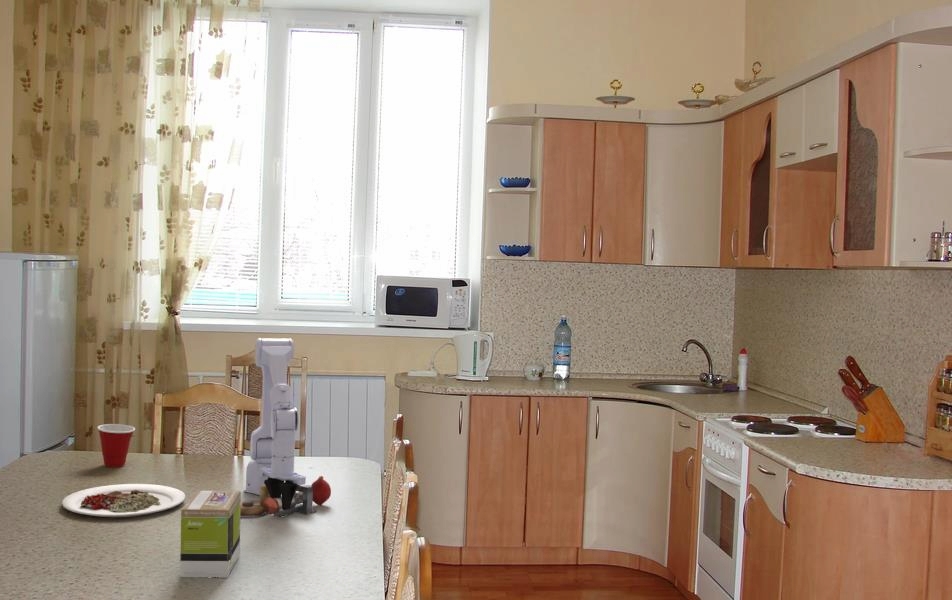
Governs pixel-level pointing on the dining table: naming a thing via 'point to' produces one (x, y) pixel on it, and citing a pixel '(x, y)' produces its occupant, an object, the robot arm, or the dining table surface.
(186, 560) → the tea box
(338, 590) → the dining table surface
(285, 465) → the robot arm
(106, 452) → the plastic cup
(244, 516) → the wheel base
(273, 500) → the copper capped rod
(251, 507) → the handwheel
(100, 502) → the plated food
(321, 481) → the pomegranate
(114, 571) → the dining table surface
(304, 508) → the eye bracket
